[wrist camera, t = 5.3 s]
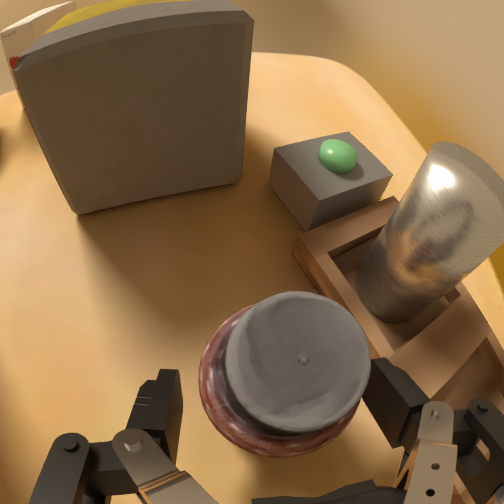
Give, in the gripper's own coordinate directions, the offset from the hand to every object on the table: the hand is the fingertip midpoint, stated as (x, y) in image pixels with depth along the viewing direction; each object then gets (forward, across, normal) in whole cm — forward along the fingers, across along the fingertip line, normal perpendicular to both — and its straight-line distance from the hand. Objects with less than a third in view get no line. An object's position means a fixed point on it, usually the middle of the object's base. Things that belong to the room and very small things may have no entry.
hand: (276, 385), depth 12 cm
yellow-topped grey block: (+24, +11, -15) cm, 30 cm away
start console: (+16, -7, -7) cm, 19 cm away
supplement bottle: (+4, 0, +5) cm, 6 cm away
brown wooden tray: (+5, -12, +3) cm, 14 cm away
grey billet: (+9, -10, -1) cm, 13 cm away
